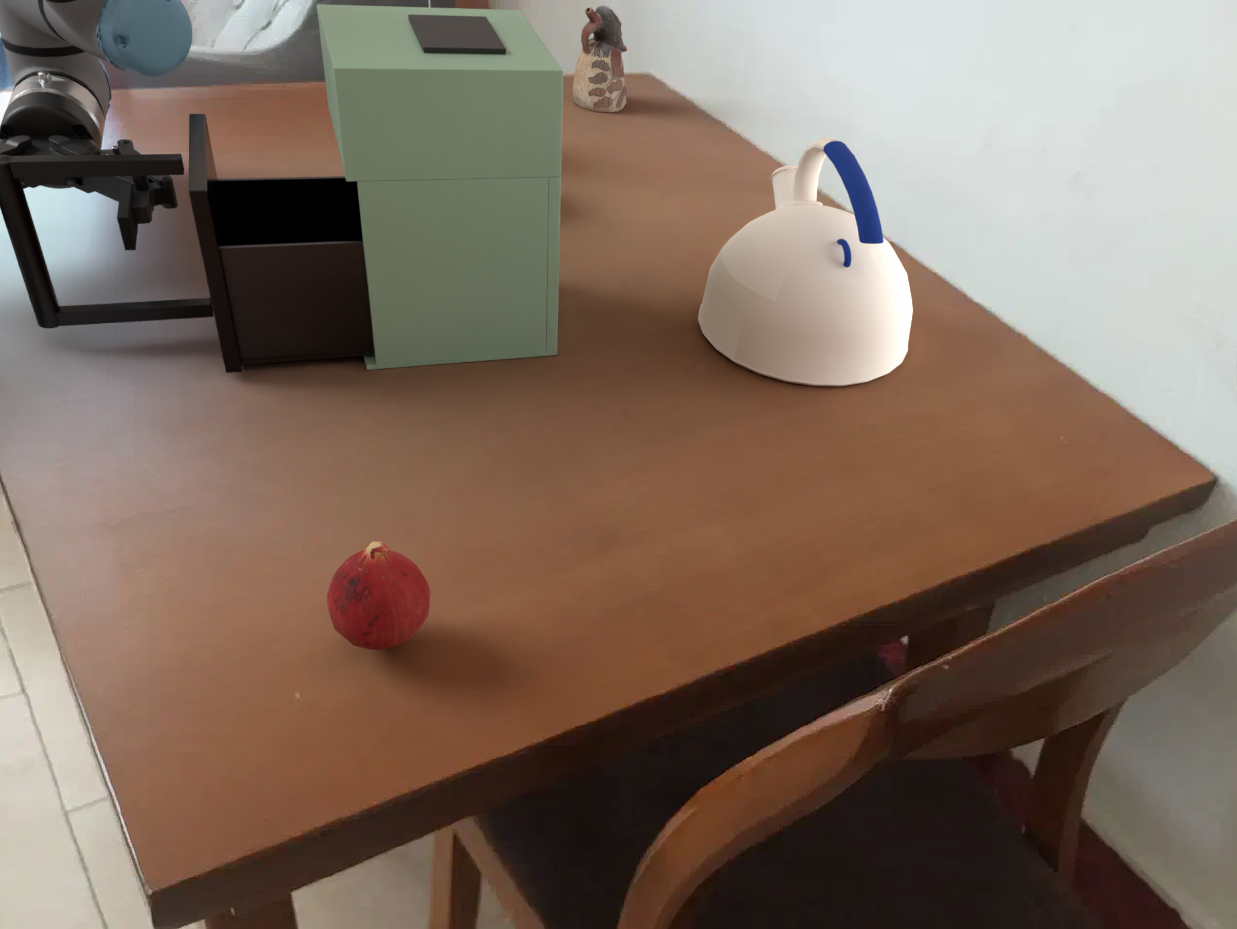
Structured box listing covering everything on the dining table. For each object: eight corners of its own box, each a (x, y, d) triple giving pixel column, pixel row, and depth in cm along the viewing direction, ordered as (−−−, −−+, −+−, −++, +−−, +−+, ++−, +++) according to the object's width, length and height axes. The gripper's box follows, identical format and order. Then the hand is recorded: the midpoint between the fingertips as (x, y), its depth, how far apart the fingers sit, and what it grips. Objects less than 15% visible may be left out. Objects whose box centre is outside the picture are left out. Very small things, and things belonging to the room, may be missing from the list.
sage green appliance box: (366, 370, 89) (333, 62, 74) (348, 284, 100) (315, -2, 84) (557, 355, 95) (563, 64, 79) (521, 275, 105) (520, 4, 89)
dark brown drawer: (32, 388, 81) (-33, 196, 71) (50, 292, 91) (-5, 113, 82) (420, 358, 90) (408, 185, 81) (397, 275, 101) (384, 112, 91)
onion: (376, 693, 64) (364, 594, 59) (314, 644, 66) (296, 545, 61) (452, 642, 68) (446, 545, 62) (391, 597, 70) (380, 500, 65)
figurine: (635, 110, 144) (642, 13, 136) (587, 114, 141) (591, 15, 133) (611, 91, 148) (615, -3, 141) (563, 95, 145) (566, -2, 137)
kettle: (856, 276, 114) (894, 100, 102) (944, 381, 99) (999, 191, 88) (671, 283, 108) (689, 97, 96) (736, 396, 93) (766, 193, 81)
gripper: (-130, 88, 90) (-194, 194, 76) (197, 90, 99) (196, 185, 84) (-96, 176, 95) (-151, 291, 81) (213, 171, 103) (214, 274, 89)
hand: (26, 237), depth 82 cm, fingers open, 13 cm apart
